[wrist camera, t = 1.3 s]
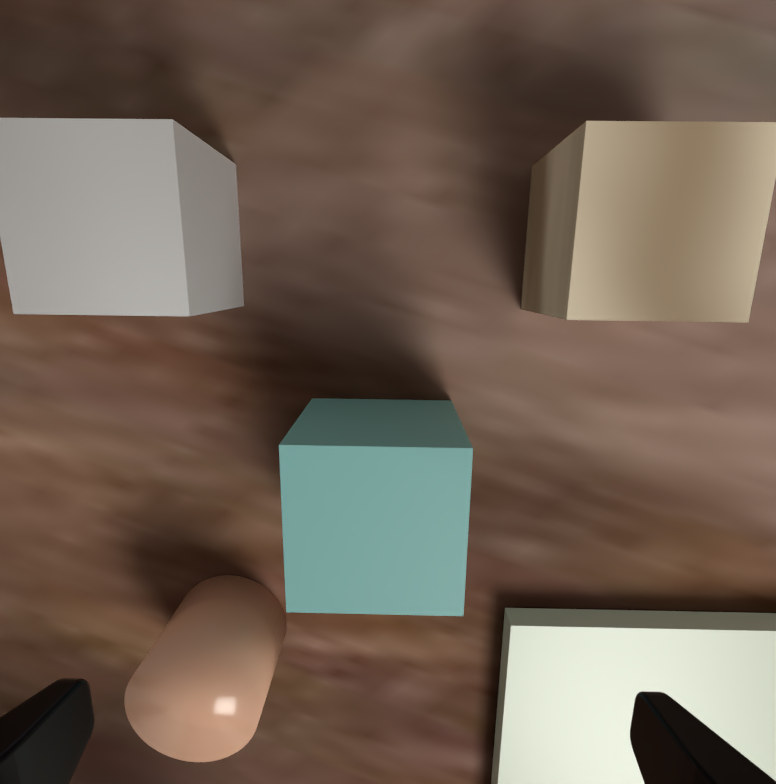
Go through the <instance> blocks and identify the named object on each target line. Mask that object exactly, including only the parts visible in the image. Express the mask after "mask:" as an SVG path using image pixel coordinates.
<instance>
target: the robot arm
mask: <svg viewBox="0 0 776 784" xmlns="http://www.w3.org/2000/svg"><path fill="white" fill-rule="evenodd" d="M93 727H94V712H93V706H92V699H91V693H90V687H89V683H88V682H87V681H86V680H84V679H68V678H64V679H60V680H57V681H55V682H54V683H52V684H51V685H49V686H48V687H46V688H44V689H43V690H41V691H40V692H38V693H37V694H35V695H34V696H32V697H31V698H29V699H28V700H26V701H25V702H23V703H21V704H20V705H18V706H17V707H15V708H14V709H12V710H11V711H9V712H8V713H6V714H5V715H3V716H2V717H0V784H68V783H69V781H70V779H71V777H72V775H73V773H74V771H75V769H76V766H77V764H78V762H79V760H80V758H81V756H82V754H83V752H84V749H85V747H86V745H87V743H88V741H89V739H90V737H91V734H92V731H93ZM630 741H631V745H632V749H633V752H634V755H635V758H636V761H637V763H638V766H639V769H640V772H641V775H642V778H643V781H644V783H645V784H776V781H775V780H774V779H773V778H771V777H770V776H769V775H768V774H766V773H765V772H764V771H763V770H761V769H760V768H759V767H758V766H756V765H755V764H754V763H753V762H751V761H750V760H749V759H748V758H746V757H745V756H744V755H743V754H741V753H740V752H739V751H738V750H736V749H735V748H734V747H733V746H731V745H730V744H729V743H728V742H726V741H725V740H724V739H723V738H721V737H720V736H719V735H718V734H716V733H715V732H714V731H713V730H711V729H710V728H709V727H708V726H706V725H705V724H704V723H703V722H701V721H700V720H699V719H698V718H696V717H695V716H694V715H693V714H691V713H690V712H689V711H688V710H686V709H685V708H684V707H683V706H681V705H680V704H679V703H678V702H676V701H675V700H674V699H673V698H671V697H670V696H669V695H667V694H665V693H663V692H644V691H642V692H639V693H638V694H637V695H636V698H635V702H634V708H633V714H632V721H631V727H630Z"/></svg>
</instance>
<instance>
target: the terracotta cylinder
mask: <svg viewBox="0 0 776 784" xmlns="http://www.w3.org/2000/svg"><path fill="white" fill-rule="evenodd" d="M285 634H286V617H285V613H284V610H283V608H282V606H281V604H280V602H279V601H278V599H277V598H276V597H275V596H274V595H273V594H272V593H271V592H270V591H269V590H268V589H267V588H265V587H264V586H263V585H261V584H259V583H258V582H255V581H253V580H251V579H248V578H245V577H240V576H234V575H222V576H215V577H212V578H208V579H206V580H204V581H202V582H200V583H198V584H197V585H195V586H194V587H193V588H192V589H191V590H190V591H189V592H188V593H187V594H186V596H185V597H184V599H183V600H182V602H181V603H180V605H179V607H178V608H177V610H176V611H175V613H174V614H173V616H172V617H171V619H170V620H169V622H168V623H167V625H166V626H165V628H164V629H163V631H162V632H161V634H160V635H159V637H158V638H157V640H156V641H155V643H154V644H153V646H152V647H151V649H150V650H149V652H148V653H147V655H146V656H145V658H144V659H143V661H142V662H141V664H140V665H139V667H138V668H137V670H136V671H135V673H134V674H133V676H132V677H131V679H130V681H129V683H128V685H127V688H126V692H125V699H124V702H125V710H126V715H127V717H128V720H129V722H130V724H131V726H132V728H133V729H134V730H135V732H136V733H137V735H138V736H139V737H140V738H141V739H142V740H143V741H144V742H145V743H147V744H148V745H149V746H150V747H152V748H153V749H155V750H156V751H158V752H160V753H162V754H164V755H167V756H169V757H172V758H175V759H178V760H183V761H188V762H210V761H216V760H220V759H223V758H226V757H228V756H231V755H232V754H234V753H236V752H238V751H239V750H240V749H242V748H243V747H244V746H245V745H246V744H247V743H248V742H249V741H250V739H251V738H252V736H253V735H254V733H255V731H256V728H257V725H258V722H259V719H260V716H261V712H262V709H263V706H264V703H265V699H266V696H267V693H268V690H269V687H270V683H271V680H272V677H273V674H274V670H275V667H276V664H277V661H278V657H279V654H280V651H281V648H282V644H283V641H284V638H285Z"/></svg>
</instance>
